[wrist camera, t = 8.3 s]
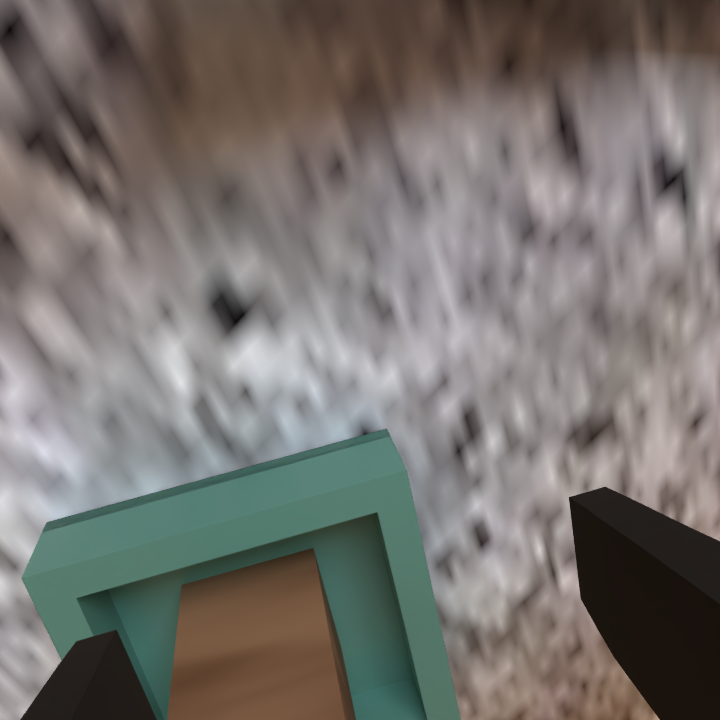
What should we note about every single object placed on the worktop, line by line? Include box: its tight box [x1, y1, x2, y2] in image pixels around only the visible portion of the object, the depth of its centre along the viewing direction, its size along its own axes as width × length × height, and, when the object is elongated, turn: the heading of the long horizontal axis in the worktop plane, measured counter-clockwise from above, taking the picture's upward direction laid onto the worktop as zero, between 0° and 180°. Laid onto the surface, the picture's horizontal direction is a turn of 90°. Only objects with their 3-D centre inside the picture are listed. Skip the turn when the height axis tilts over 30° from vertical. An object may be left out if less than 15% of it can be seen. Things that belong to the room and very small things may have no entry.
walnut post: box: [167, 548, 356, 720], centre depth 18 cm, size 4×4×7 cm
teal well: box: [22, 429, 461, 720], centre depth 21 cm, size 10×10×2 cm
